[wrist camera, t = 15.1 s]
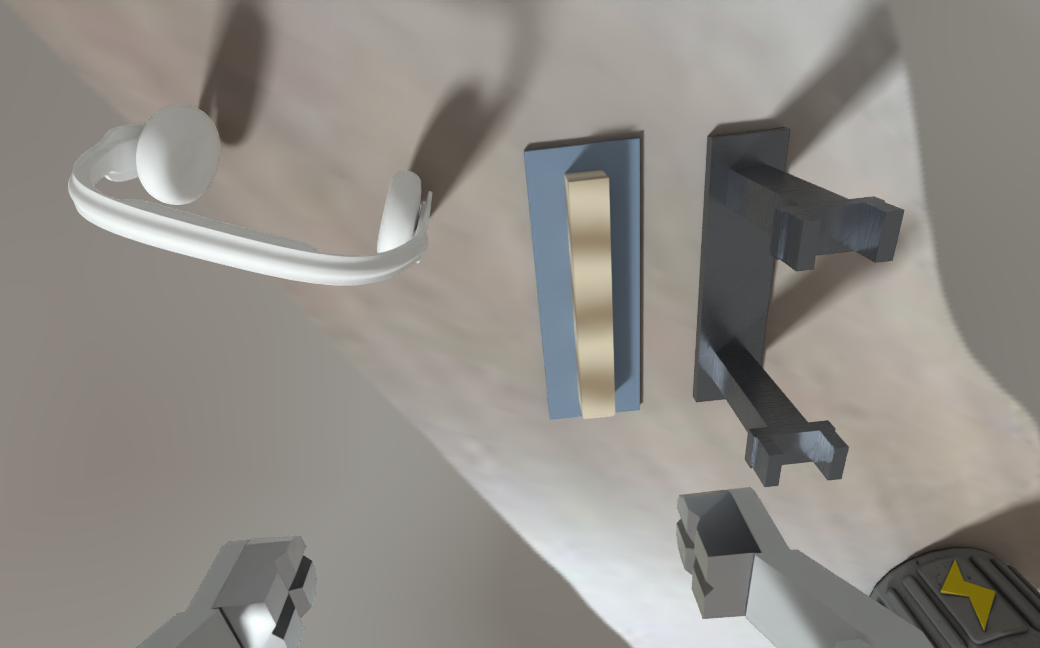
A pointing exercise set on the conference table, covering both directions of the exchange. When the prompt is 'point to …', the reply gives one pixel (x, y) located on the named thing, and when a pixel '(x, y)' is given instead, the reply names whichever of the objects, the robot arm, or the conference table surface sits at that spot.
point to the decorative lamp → (963, 600)
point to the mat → (556, 276)
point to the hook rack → (747, 280)
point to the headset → (184, 178)
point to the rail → (591, 289)
